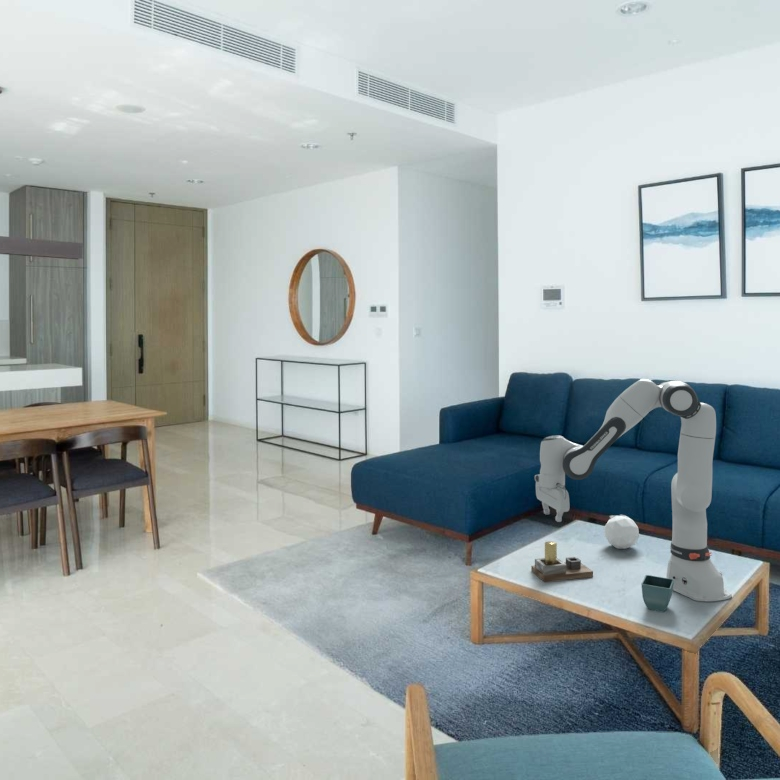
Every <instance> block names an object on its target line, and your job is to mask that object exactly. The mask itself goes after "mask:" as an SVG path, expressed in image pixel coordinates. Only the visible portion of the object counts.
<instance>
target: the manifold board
mask: <svg viewBox="0 0 780 780" xmlns="http://www.w3.org/2000/svg"><path fill="white" fill-rule="evenodd" d="M581 561H582V560H581V559H580V558H578V557H575V556H572V557H565V561H563V560H560V558H558V557H557V564H556V565H545V557H541V558H534V565H531V567H530V568H531V569H530V571H531V573H533V574H534V575H535V576H537V577H538V578H539V579H540V580H542V582H544V583H547V582H557V581H565V580H576V579H584V578H585V579H586V578H592V577H594V571H593V570H592V569H591V568H589V567H587V566H586V565H585V564H584V563H582V562H581Z"/></svg>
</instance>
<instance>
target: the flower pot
mask: <svg viewBox="0 0 780 780" xmlns="http://www.w3.org/2000/svg"><path fill="white" fill-rule="evenodd" d="M673 584H674V579H669V578H666V577H661V576H655V575H649V574H645V576H644V578H643V580H642V582H641V593H642V600H643V603H644V605H645V607H646V609H648V610H651V611H652V610H653V611H656V612H663V613H664V612H666V610H667V608H668V607H669V605H670V602H671V598H672V596H673V591H674V590H673Z"/></svg>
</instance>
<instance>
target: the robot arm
mask: <svg viewBox="0 0 780 780" xmlns="http://www.w3.org/2000/svg"><path fill="white" fill-rule="evenodd" d="M657 408H663V409H664V410H665V411H667V412H669V413H670V414H672V415H674V416H678V417H680V421H681V422H680V423H681V424H680V425H681V426H680V433H679V440H678V441H679V442H678V450H677V472H676V473H675V474H674V475H673V477H672V479H671V485H670V487H671V489H670V491H671V511H672V512H671V515H672V533H671V534H672V535H671V537H672V539H671V542H670V546H669V547H670V548H669V549H670V553H671V555H670V559H669V560H668V563H667V570H666V577H665V578H669V579H674V584H673V591H674V592H676V593H679V594H681V595H682V596H685V597H687V598H690V599H691V600H693V601H696V602H719V601H725V600H728V599H730V598H732V593H731V592H730V591H729V590H728V589H726V588H725V585H724V577H723V573H722V572H721V571H719V570H718V569H717V567H716V566H715V564H714V563H713V561H712V560H711V556H713V553H712V552H710V549H709V546H708V545H707V544H708V541H707V540H708V519H707V508H708V507H710V504H711V503H712V494H713V492H712V491H713V459H714V451H715V443H716V436H717V416H716V410H715V408H714V407H713V406H712V405H710V404H708V403H706V402H705V403H704V402H700V400H699V397H698V395H697V393H696V391H695V390H694V388H693V387H691V386H690V385H689V384H688V383H686V382H684V381H681V380H678V379H677V380H676V379H671V380H666V381H663V382H659V383H656V382H653V380H650V379H648V378H647V379H646V378H641V379H639V380H637V381H635V382H633V384H631V385H629V387H627V388H626V389H625V390H624V391H623V392H621V393H620V394H619V395H618V396H617V397H616V398H615V399H614V401H613V402H612V403H611V404H610V405H609V407H608V408H607V410H606V413H605V416H604V421H603V423H602V425H601V426H600V428H599V429H598V431H596V433H595V434H594V435H593V436H591V438H590V439H589V440H588V441H587V442H586V443H585V444H584V445H583V444H579V443H575V442H572V441H570V440H568V439H567V438H565V437H564V436H562V435H559V434H558V435H557V434H556V435H549V436H546V437H544V438H543V439H542V440H541V442H540V448H539V463H540V469H539V474H535V475H534V481H535V496H536V499H537V500H539V501H540V502H541V505H542V509H543V514H545V515H550V514H551V509H550V508H552V509H554V510H555V512H556V516H555V517H554V519H555V521H556V522H557V523H561V522H562V520H563V519H562V517H563V515H564V513H567V512H569V511H570V505H571V504H570V495H569V492H568V490H567V489H566V475H567V477H568V478H570V479H572V480H576V481H577V480H579V481H581V480H584V479H587V478H588V477H590V475H591V474H592V472H593V470H594V469H595V464H596V463H597V461H598V459H599V458H600V457H602V455H603V454H604V453H605V452H606V451H607V450H608V449H609V448H610V447H611V446H612V445H613V444H614V443H615V442H616V441H617V440H618V439H620V438H621V437H622V435H624V434H625V433H628V431H630V430H631V429H632V428H634V427H635V426H636V425H638V423H640V422H641V421H642V420H643V418H645V417H646V416H647V415H648V414H649V412H651V411H652V410H654V409H657ZM549 507H550V508H549Z"/></svg>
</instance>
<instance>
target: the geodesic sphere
mask: <svg viewBox="0 0 780 780" xmlns="http://www.w3.org/2000/svg"><path fill="white" fill-rule="evenodd" d="M603 528H604V529H603V530H604V537H605V538H606V540H607V542H608V544H610V545H611V546H613V547H615V548H616V549H618V550H619V549H620V550H622V549H628V548H631V547H633V546H635V545H636V543H637V541H638V540H639V538H640V533H639V532H640V531H639V527H638V525H637V524H636V522H635V521H634V520H633V519H632V518H630V517H629V516H627V515H624V514H622V513H621V514H620V515H613V514H612V515H609V519H608V521H607V523H605V525H604V527H603Z"/></svg>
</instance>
